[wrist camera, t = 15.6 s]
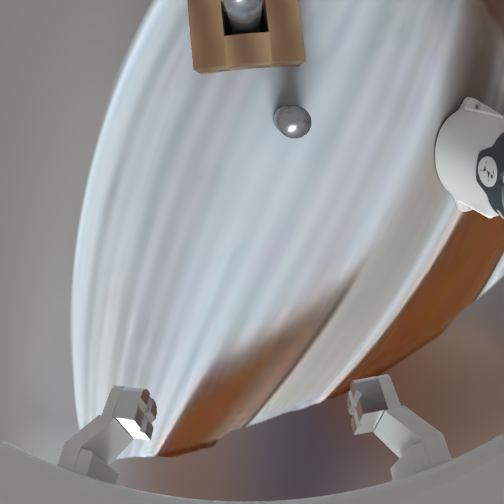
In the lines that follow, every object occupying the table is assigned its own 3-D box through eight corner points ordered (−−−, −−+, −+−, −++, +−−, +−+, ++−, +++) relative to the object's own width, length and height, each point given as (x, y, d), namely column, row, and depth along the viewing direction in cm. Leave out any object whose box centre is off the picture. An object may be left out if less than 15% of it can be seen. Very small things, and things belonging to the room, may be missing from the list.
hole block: (289, -13, 25) (293, -28, 20) (298, 66, 30) (305, 60, 26) (194, -5, 25) (186, -18, 21) (201, 74, 31) (193, 69, 26)
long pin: (258, 13, 27) (261, -32, 14) (261, 37, 28) (265, 0, 16) (230, 16, 27) (217, -28, 15) (232, 39, 29) (220, 4, 16)
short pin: (300, 105, 33) (310, 105, 27) (301, 131, 34) (312, 137, 28) (272, 106, 33) (276, 106, 27) (274, 133, 35) (278, 139, 28)
